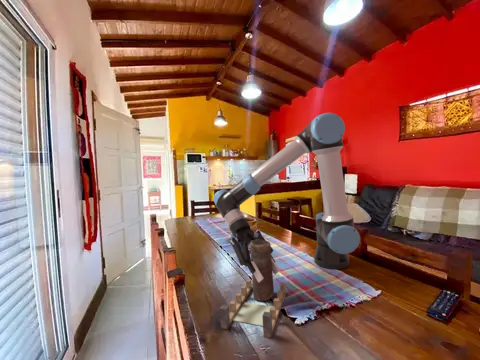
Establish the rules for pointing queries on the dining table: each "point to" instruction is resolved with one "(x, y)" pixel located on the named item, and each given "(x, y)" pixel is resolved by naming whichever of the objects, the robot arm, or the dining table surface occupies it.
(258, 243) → the brown tall cylinder
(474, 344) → the dining table surface
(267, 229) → the dining table surface
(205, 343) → the dining table surface
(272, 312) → the comb lane
